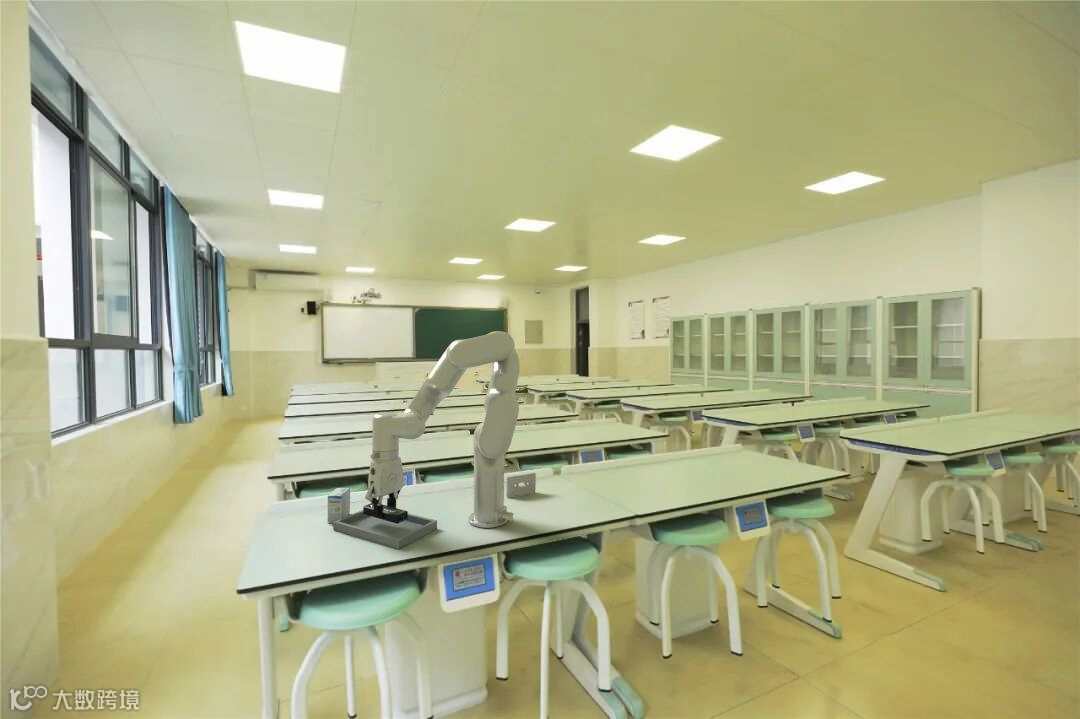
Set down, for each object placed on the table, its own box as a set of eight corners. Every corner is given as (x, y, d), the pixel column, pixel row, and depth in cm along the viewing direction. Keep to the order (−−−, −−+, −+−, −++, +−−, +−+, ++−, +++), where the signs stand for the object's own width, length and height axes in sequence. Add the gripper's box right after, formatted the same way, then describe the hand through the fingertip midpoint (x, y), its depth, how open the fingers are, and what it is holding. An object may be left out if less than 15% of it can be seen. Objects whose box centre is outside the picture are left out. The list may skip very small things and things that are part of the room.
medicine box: (336, 513, 152) (336, 487, 151) (350, 513, 152) (350, 487, 152) (327, 523, 144) (327, 495, 144) (342, 523, 144) (342, 495, 144)
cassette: (507, 498, 169) (507, 477, 169) (505, 497, 171) (505, 476, 170) (536, 493, 175) (536, 473, 175) (533, 492, 177) (534, 472, 176)
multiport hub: (374, 509, 145) (374, 501, 145) (408, 518, 138) (408, 511, 138) (362, 513, 142) (362, 506, 141) (397, 523, 135) (397, 515, 134)
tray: (437, 528, 141) (437, 520, 141) (398, 549, 127) (398, 540, 127) (374, 512, 153) (374, 505, 153) (333, 530, 139) (333, 521, 139)
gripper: (372, 463, 130) (372, 527, 131) (415, 450, 145) (414, 508, 146) (353, 459, 133) (353, 521, 134) (396, 447, 148) (396, 504, 149)
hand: (385, 514), depth 140 cm, fingers closed on multiport hub, 4 cm apart
